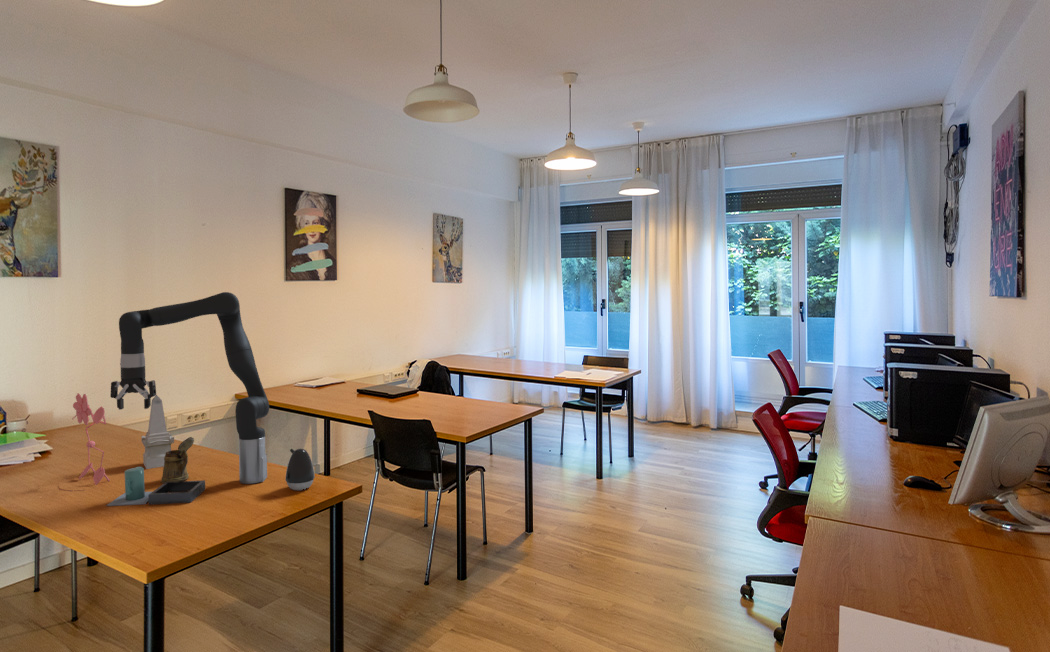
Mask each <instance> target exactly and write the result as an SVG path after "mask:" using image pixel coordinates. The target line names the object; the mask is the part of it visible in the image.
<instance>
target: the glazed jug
mask: <svg viewBox="0 0 1050 652" xmlns="http://www.w3.org/2000/svg"><path fill="white" fill-rule="evenodd" d="M124 487H125V488H124V491H125V492H124V493H125V495H126V500H128V501H133V500H138V499H142V498H144V497H145V492H146V491H145V468H144V467H143V466H137V467H132V468H128V469H126V470H124Z"/></svg>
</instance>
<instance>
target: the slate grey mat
mask: <svg viewBox="0 0 1050 652" xmlns="http://www.w3.org/2000/svg"><path fill="white" fill-rule="evenodd" d="M152 492H153V491H145V497H144V498H142V499H138V500H133V501H128V500H126V495H125V492H124V493H123V494H120V495H119V496H117V497H116V498H115V499H113V500H111V502H109V503H107V504H106V507H115V506H116V507H118V506H134V505H135V506H137V505H146V504H149V497H148V495H149V494H150V493H152Z"/></svg>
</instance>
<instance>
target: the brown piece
mask: <svg viewBox="0 0 1050 652" xmlns="http://www.w3.org/2000/svg"><path fill="white" fill-rule="evenodd" d="M194 443H195V439H194V437H192V436H189V437H188V438H186V439H184V440H183V441H181V443H179V445H178V447H177V449H173V450H172V449H171V451H167V452H166V454H165V457H164V460H165V461H164V466H163V469H162V475H161V480H160V483H162V484H164V483H165V482H179V481H188V479H189V477H190V476H189V473H188V469H187V465H188V463H189V462H188V461H189V455H188V453H187V451H188V450H190V448H192V446H193V444H194Z"/></svg>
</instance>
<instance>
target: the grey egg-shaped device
mask: <svg viewBox="0 0 1050 652" xmlns="http://www.w3.org/2000/svg"><path fill="white" fill-rule="evenodd" d="M289 451H290V453H291V455H290V458H289V460H288V463H287V467H286V471H285V482H286V484H287V486H288V488H289V489H290V490H293V491H304V490H306V488H307V489H308V488H310V487H311V486H312V485H313V483H314V479H315V477H316V476H315V468H314V464H313V461H312V458H311V456H310V454H309V452H308V451H307V450H306V449H305V448H297V449H293V448H291V449H289ZM303 489H304V490H303Z"/></svg>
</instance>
